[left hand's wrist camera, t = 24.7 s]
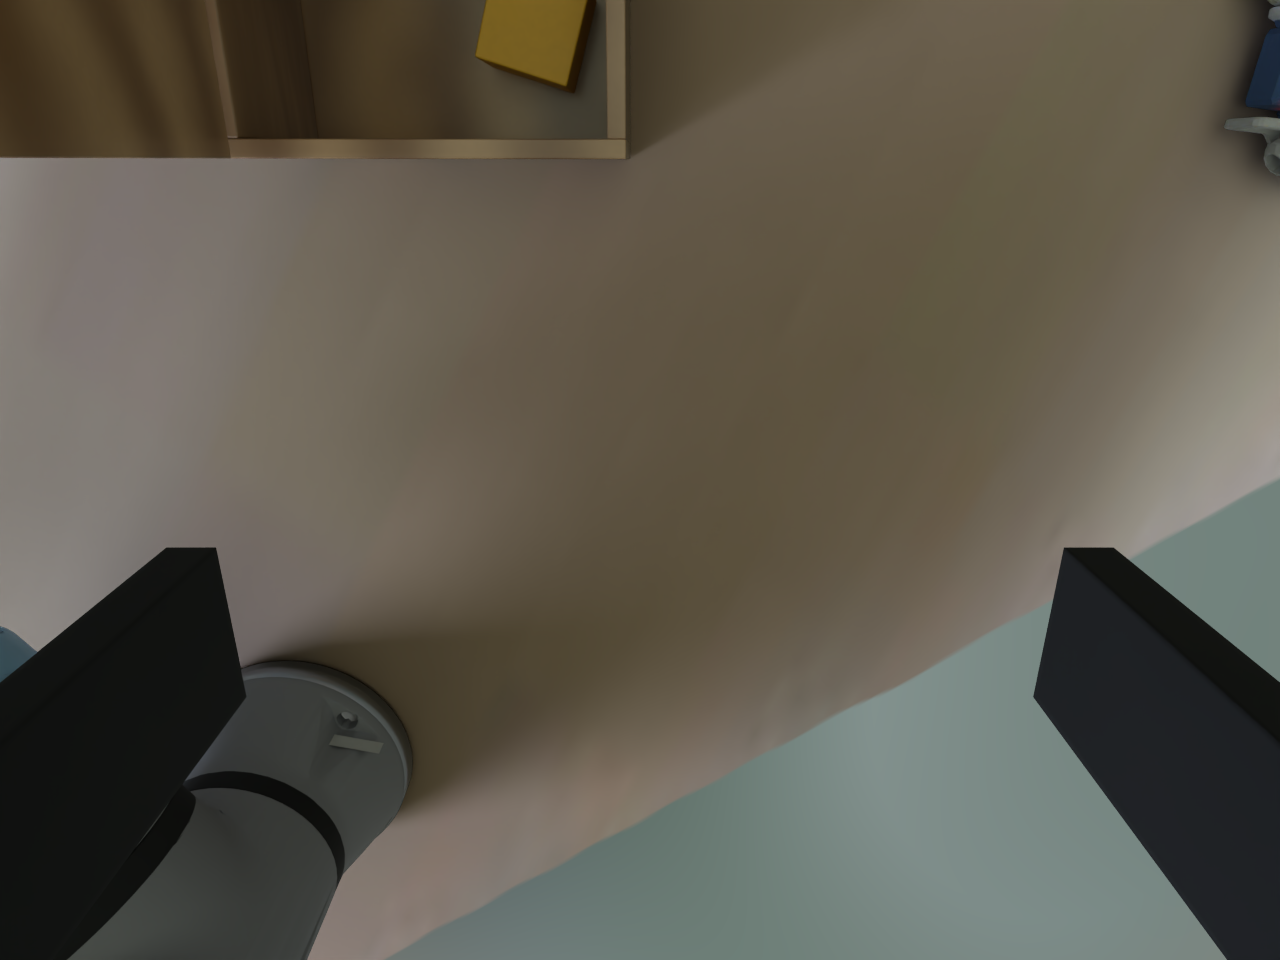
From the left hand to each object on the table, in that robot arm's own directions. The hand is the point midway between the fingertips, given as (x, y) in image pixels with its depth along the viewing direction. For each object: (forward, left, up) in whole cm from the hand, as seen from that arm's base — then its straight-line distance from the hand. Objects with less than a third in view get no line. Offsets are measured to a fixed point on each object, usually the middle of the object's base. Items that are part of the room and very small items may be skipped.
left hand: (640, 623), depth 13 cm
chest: (-9, +13, -35) cm, 38 cm away
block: (-5, +13, -35) cm, 37 cm away
